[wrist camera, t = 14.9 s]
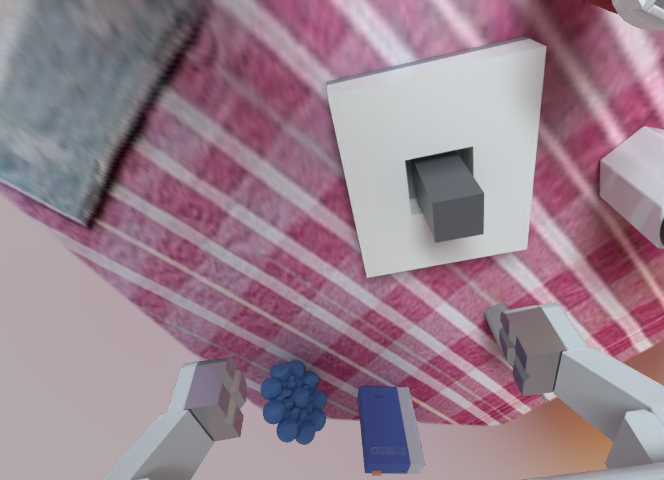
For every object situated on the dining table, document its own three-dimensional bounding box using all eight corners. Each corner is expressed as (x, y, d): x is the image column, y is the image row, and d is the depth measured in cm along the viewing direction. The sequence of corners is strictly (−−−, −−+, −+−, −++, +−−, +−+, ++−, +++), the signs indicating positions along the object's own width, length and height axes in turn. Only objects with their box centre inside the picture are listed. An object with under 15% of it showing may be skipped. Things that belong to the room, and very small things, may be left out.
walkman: (357, 396, 64) (365, 476, 55) (360, 385, 63) (368, 466, 53) (406, 397, 65) (421, 476, 55) (409, 387, 63) (426, 467, 54)
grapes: (246, 357, 58) (233, 440, 48) (280, 335, 55) (272, 419, 46) (303, 391, 63) (301, 472, 54) (336, 373, 61) (339, 454, 51)
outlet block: (326, 82, 36) (327, 95, 32) (524, 36, 34) (546, 46, 31) (363, 254, 47) (366, 277, 44) (512, 227, 46) (526, 249, 42)
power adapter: (501, 332, 56) (540, 412, 47) (481, 312, 54) (517, 394, 44) (522, 321, 55) (566, 401, 45) (502, 301, 53) (544, 381, 43)
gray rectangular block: (410, 154, 39) (432, 203, 32) (452, 145, 38) (484, 193, 31) (414, 189, 41) (435, 243, 34) (453, 182, 41) (483, 234, 34)
